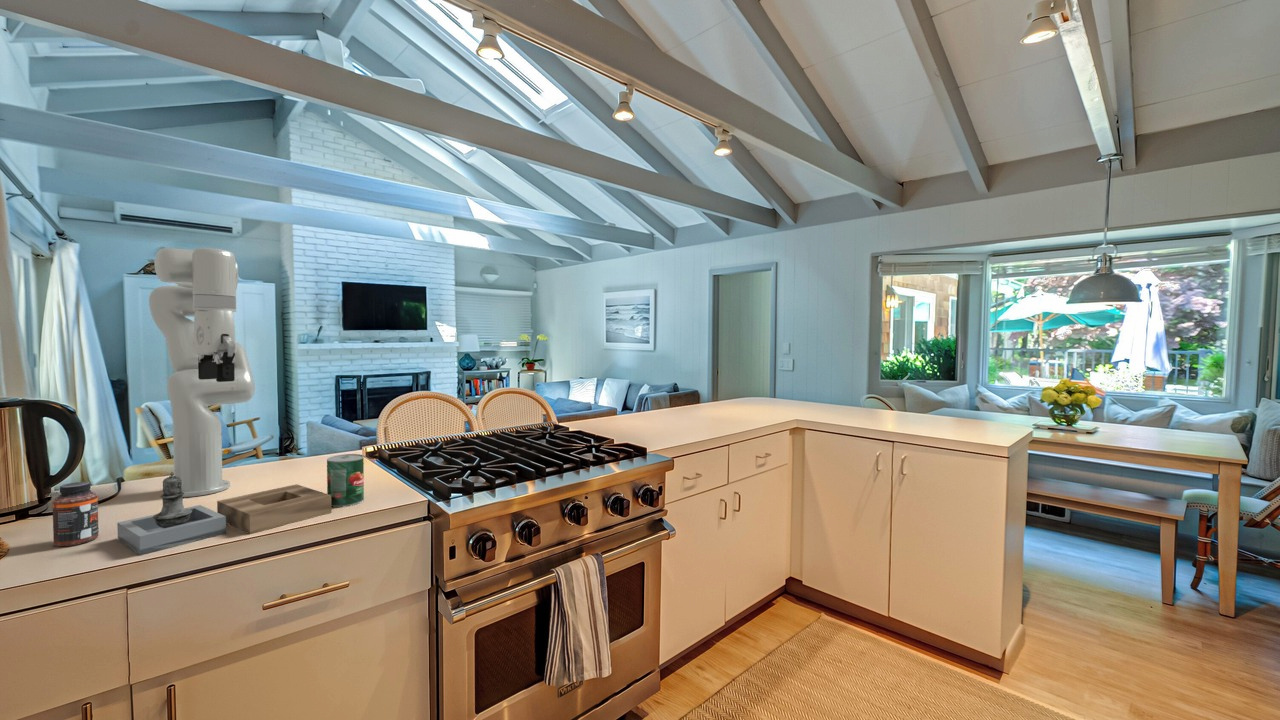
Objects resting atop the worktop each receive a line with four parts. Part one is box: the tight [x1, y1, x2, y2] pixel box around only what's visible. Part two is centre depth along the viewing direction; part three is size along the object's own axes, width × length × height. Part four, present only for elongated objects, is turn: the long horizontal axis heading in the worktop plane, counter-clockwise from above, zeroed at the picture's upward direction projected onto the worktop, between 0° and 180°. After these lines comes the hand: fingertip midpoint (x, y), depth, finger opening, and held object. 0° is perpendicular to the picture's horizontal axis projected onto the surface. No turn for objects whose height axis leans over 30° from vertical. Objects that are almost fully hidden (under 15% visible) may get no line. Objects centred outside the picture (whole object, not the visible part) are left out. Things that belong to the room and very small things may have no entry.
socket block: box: [216, 484, 332, 535], centre depth 116 cm, size 16×16×4 cm
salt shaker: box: [153, 471, 192, 529], centre depth 103 cm, size 6×6×12 cm
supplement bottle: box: [52, 481, 99, 547], centre depth 100 cm, size 6×6×11 cm
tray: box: [116, 504, 227, 556], centre depth 103 cm, size 13×13×4 cm
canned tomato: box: [326, 453, 365, 508], centre depth 126 cm, size 8×8×11 cm
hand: (216, 380), depth 117 cm, fingers open, 9 cm apart
